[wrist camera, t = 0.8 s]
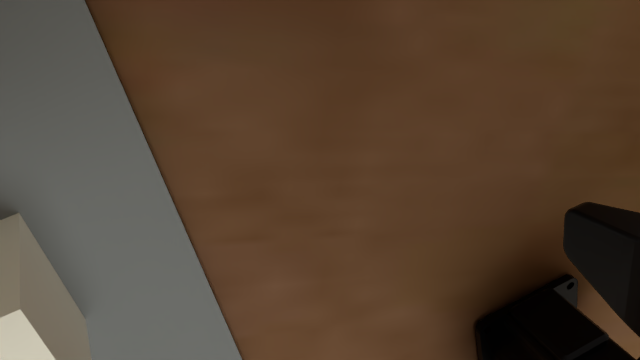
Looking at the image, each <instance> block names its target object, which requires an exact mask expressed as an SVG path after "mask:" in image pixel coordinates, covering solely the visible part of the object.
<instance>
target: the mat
mask: <svg viewBox="0 0 640 360" xmlns="http://www.w3.org/2000/svg"><path fill="white" fill-rule="evenodd" d="M17 213H20V215H21V217H22V218H23V220H24V221H25V223H26V225H27V226H28V228H29V229H30V231H31V233H32V234H33V236H34V238H35V239H36V241H37V242H38V244H39V246H40V247H41V249H42V250H43V252H44V254H45V255H46V257H47V258H48V260H49V262H50V263H51V265H52V266H53V268H54V270H55V271H56V273H57V274H58V276H59V278H60V279H61V281H62V283H63V284H64V286H65V287H66V289H67V291H68V292H69V294H70V295H71V297H72V299H73V300H74V302H75V303H76V305H77V307H78V308H79V310H80V311H81V313H82V315H83V316H84V318H85V319H86V326H87V332H88V339H89V346H90V353H91V359H92V360H242V358H241V356H240V354H239V351H238V349H237V347H236V345H235V342H234V340H233V338H232V335H231V333H230V331H229V329H228V326H227V324H226V322H225V320H224V317H223V315H222V313H221V310H220V308H219V306H218V304H217V301H216V299H215V297H214V294H213V292H212V290H211V288H210V285H209V283H208V281H207V278H206V276H205V274H204V272H203V269H202V267H201V265H200V263H199V260H198V258H197V256H196V253H195V251H194V249H193V247H192V244H191V242H190V240H189V237H188V235H187V233H186V231H185V228H184V226H183V224H182V221H181V219H180V217H179V215H178V212H177V210H176V208H175V205H174V203H173V201H172V199H171V196H170V194H169V192H168V190H167V187H166V185H165V183H164V180H163V178H162V176H161V174H160V171H159V169H158V167H157V164H156V162H155V160H154V158H153V155H152V153H151V151H150V148H149V146H148V144H147V142H146V139H145V137H144V135H143V132H142V130H141V128H140V126H139V123H138V121H137V119H136V117H135V114H134V112H133V110H132V107H131V105H130V103H129V101H128V98H127V96H126V94H125V91H124V89H123V87H122V85H121V82H120V80H119V78H118V75H117V73H116V71H115V69H114V66H113V64H112V62H111V60H110V57H109V55H108V53H107V50H106V48H105V46H104V44H103V41H102V39H101V37H100V34H99V32H98V30H97V28H96V25H95V23H94V21H93V18H92V16H91V14H90V12H89V9H88V7H87V5H86V2H85V0H0V220H2V219H5V218H7V217H10V216H12V215H15V214H17Z"/></svg>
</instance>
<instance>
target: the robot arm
mask: <svg viewBox="0 0 640 360" xmlns="http://www.w3.org/2000/svg"><path fill="white" fill-rule="evenodd" d="M563 247H564V251H565V253H566V255H567V257H568V258H569V259H570V261H571V262H572V263H573V264H574V265H575V266H576V268H577V269H578V270H579V271H580V272H581V273H582V275H583V276H584V277H585V278H586V279H587V280H588V281H589V283H590V284H591V285H592V286H593V287H594V288H595V290H596V291H597V292H598V293H599V294H600V295H601V297H602V298H603V299H604V300H605V301H606V302H607V303H608V305H609V306H610V307H611V308H612V309H613V310H614V312H615V313H616V314H617V315H618V316H619V317H620V318H621V319H622V320H623V321H624V322H625V323H626V324H627V325H628V326H629V327H630V328H631V329H632V330H633V331H634V332H635V333H636V334H637V335H638V336H639V337H640V213H638V212H633V211H629V210H624V209H619V208H615V207H610V206H605V205H601V204H596V203H591V202H585V203H582V204H580V205H578V206H575V207H573V208H571V209H569V210H568V211H567V212H566V214H565V218H564V238H563ZM577 288H578V281H577V279H576V278H574V277H573V276H572V275H570V274H567V275H565V276H563V277H561V278H559V279H557V280H555V281H554V282H552V283H550V284H548V285H546V286H544V287H542V288H540V289H539V290H537V291H535V292H533V293H531V294H529V295H527V296H525V297H524V298H522V299H520V300H518V301H516V302H514V303H512V304H510V305H508V306H507V307H505V308H503V309H501V310H499V311H497V312H495V313H493V314H492V315H490V316H488V317H486V318H484V319H482V320H481V321H480V322H479V323H478V324H477V326H476V329H475V331H476V340H477V349H478V359H479V360H636V359H635V358H633V357H632V356H631V355H630V354H629V353H627V352H626V351H625V350H624V349H623V348H621V347H620V346H619V345H618V344H617V343H615V342H614V341H613V340H612V339H611V338H609V335H608V334H607V333H606V332H605V331H604V330H602V329H601V328H600V327H599V326H598V325H596V324H595V323H594V322H593V321H592V320H590V319H589V318H588V317H587V316H586V315H584V314H583V313H582V312H581V311H580V310H578V309H577ZM637 360H640V357H639V358H638V359H637Z"/></svg>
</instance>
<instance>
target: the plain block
mask: <svg viewBox="0 0 640 360" xmlns="http://www.w3.org/2000/svg"><path fill="white" fill-rule="evenodd" d="M0 360H92V359H91V353H90V346H89V339H88V332H87V326H86V319H85V318H84V316H83V315H82V313H81V311H80V310H79V308H78V307H77V305H76V303H75V302H74V300H73V299H72V297H71V295H70V294H69V292H68V291H67V289H66V287H65V286H64V284H63V283H62V281H61V279H60V278H59V276H58V274H57V273H56V271H55V270H54V268H53V266H52V265H51V263H50V262H49V260H48V258H47V257H46V255H45V254H44V252H43V250H42V249H41V247H40V246H39V244H38V242H37V241H36V239H35V238H34V236H33V234H32V233H31V231H30V229H29V228H28V226H27V225H26V223H25V221H24V220H23V218H22V217H21V215H20V213H17V214H15V215H12V216H10V217H7V218H5V219H2V220H0Z"/></svg>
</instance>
